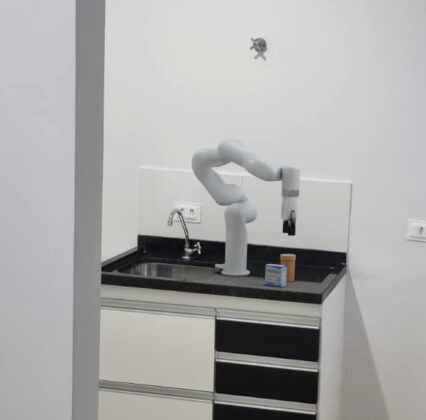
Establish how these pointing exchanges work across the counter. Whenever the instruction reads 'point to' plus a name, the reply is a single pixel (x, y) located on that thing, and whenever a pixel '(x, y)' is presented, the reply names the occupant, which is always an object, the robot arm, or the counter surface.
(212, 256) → the counter surface
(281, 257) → the jar lid
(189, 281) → the counter surface
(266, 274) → the medicine box
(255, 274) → the counter surface
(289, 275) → the jam jar
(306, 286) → the counter surface
